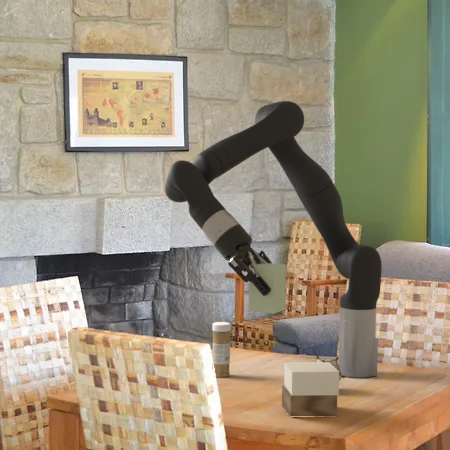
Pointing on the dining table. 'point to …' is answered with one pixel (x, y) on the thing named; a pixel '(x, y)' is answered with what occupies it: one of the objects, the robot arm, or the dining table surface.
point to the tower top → (311, 378)
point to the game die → (333, 362)
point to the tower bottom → (309, 404)
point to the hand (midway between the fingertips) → (274, 291)
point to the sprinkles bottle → (221, 348)
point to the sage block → (277, 283)
